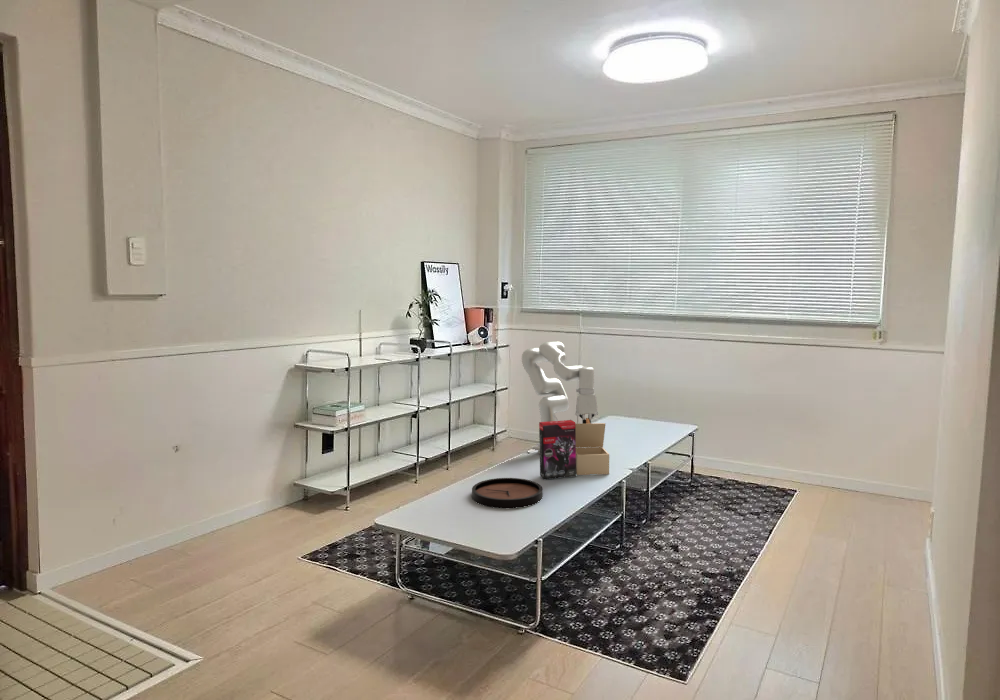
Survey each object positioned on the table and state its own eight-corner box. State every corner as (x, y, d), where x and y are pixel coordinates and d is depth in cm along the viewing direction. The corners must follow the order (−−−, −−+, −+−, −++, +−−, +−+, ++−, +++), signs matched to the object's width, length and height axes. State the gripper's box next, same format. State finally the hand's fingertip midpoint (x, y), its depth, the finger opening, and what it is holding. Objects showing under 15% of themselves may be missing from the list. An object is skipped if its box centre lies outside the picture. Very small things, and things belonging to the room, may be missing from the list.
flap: (573, 424, 338) (571, 418, 343) (571, 447, 344) (569, 441, 349) (605, 423, 339) (603, 417, 344) (603, 446, 345) (600, 440, 350)
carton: (577, 475, 331) (577, 455, 330) (571, 467, 345) (571, 447, 344) (609, 474, 333) (609, 454, 331) (602, 466, 346) (602, 447, 345)
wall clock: (557, 488, 300) (507, 505, 278) (557, 496, 300) (507, 514, 278) (507, 473, 322) (457, 488, 300) (507, 481, 322) (457, 497, 301)
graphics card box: (543, 480, 323) (543, 424, 320) (538, 476, 329) (538, 421, 326) (576, 477, 327) (577, 422, 324) (571, 473, 334) (571, 419, 331)
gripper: (572, 393, 339) (572, 429, 341) (603, 392, 340) (603, 428, 342) (570, 390, 347) (570, 426, 349) (599, 389, 348) (600, 425, 350)
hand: (586, 426), depth 345 cm, fingers closed
